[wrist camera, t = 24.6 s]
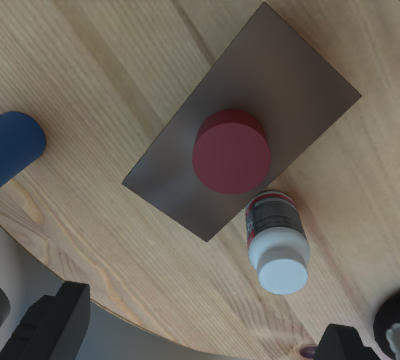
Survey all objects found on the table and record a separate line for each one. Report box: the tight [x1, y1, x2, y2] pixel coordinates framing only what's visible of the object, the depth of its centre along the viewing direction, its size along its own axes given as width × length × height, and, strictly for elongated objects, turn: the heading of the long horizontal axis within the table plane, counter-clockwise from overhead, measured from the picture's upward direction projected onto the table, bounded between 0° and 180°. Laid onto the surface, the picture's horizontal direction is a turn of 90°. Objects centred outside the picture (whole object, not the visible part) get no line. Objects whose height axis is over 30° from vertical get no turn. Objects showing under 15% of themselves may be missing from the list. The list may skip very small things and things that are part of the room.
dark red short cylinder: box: [192, 109, 271, 194], centre depth 23 cm, size 5×5×3 cm
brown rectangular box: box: [122, 2, 362, 242], centre depth 28 cm, size 17×9×7 cm, turn 142°
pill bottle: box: [245, 191, 310, 295], centre depth 31 cm, size 5×5×10 cm
